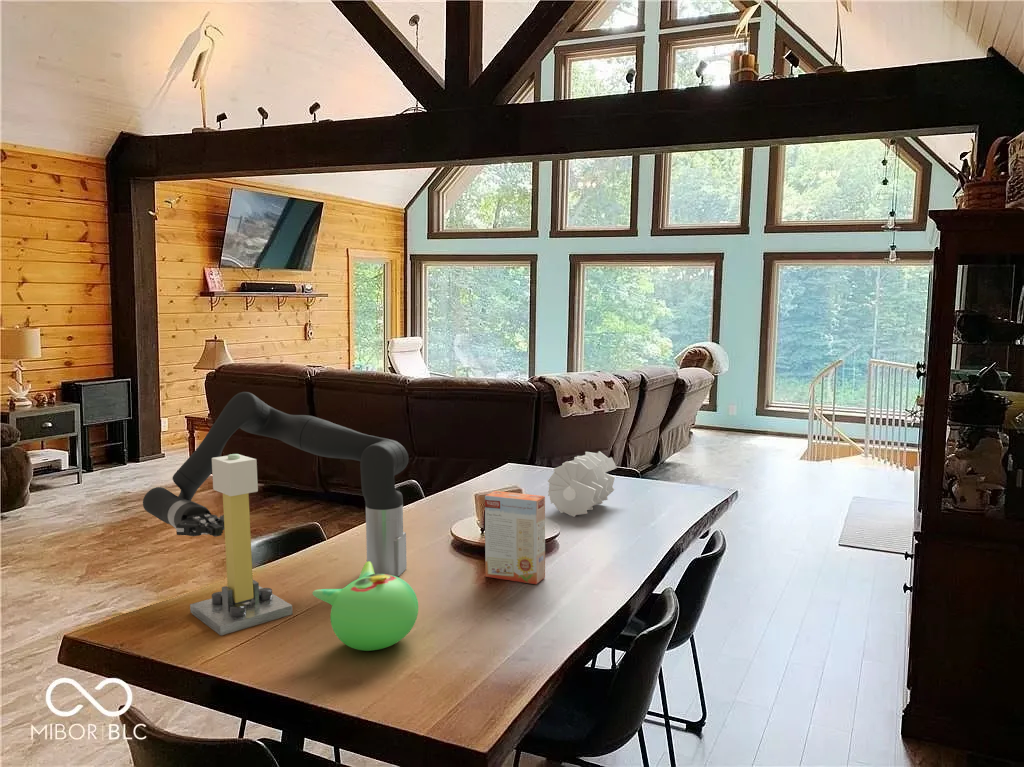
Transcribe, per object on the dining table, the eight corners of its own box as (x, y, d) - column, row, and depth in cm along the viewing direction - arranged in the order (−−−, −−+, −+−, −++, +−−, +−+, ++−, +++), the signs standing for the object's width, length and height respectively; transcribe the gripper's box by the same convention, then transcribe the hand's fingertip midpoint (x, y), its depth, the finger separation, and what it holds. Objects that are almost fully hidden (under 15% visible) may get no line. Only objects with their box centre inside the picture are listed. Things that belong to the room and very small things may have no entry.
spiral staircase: (556, 529, 248) (583, 506, 270) (604, 511, 240) (628, 489, 262) (532, 476, 248) (562, 457, 271) (579, 457, 240) (605, 440, 263)
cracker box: (546, 577, 193) (546, 495, 191) (536, 585, 188) (536, 500, 186) (495, 569, 199) (494, 489, 197) (484, 577, 194) (484, 494, 191)
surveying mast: (219, 601, 172) (211, 454, 169) (245, 594, 177) (238, 450, 173) (236, 612, 166) (228, 459, 163) (263, 605, 170) (256, 455, 167)
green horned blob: (375, 672, 144) (373, 596, 143) (310, 651, 153) (307, 578, 152) (434, 637, 159) (433, 567, 158) (372, 619, 168) (371, 553, 167)
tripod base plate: (190, 612, 172) (189, 584, 171) (259, 594, 183) (258, 567, 182) (220, 635, 160) (219, 605, 160) (292, 614, 171) (291, 585, 170)
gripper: (160, 507, 185) (188, 521, 173) (215, 497, 194) (245, 510, 182) (162, 538, 186) (190, 554, 173) (216, 526, 195) (247, 541, 182)
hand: (218, 531), depth 178 cm, fingers closed
